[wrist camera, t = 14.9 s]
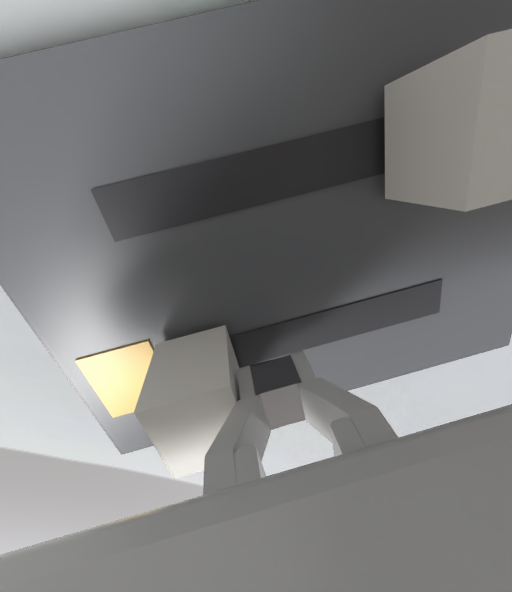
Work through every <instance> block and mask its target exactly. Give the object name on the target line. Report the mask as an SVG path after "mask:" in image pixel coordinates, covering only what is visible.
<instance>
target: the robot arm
mask: <svg viewBox="0 0 512 592" xmlns="http://www.w3.org/2000/svg"><path fill="white" fill-rule="evenodd" d="M237 375H238V384H239V392H240V400H239V401H236V403H235V405H234V407H233V408H232V410H231V412H230V414H229V415H228V417H227V419H226V420H225V422H224V424H223V426H222V427H221V429H220V431H219V432H218V434H217V436H216V438H215V439H214V441H213V443H212V445H211V446H210V448H209V450H208V451H207V453H206V455H205V460H204V488H203V495H202V496H199V497H195V498H192V499H188V500H185V501H182V502H178V503H175V504H171V505H168V506H165V507H161V508H158V509H154V510H151V511H148V512H144V513H141V514H137V515H134V516H131V517H127V518H124V519H121V520H117V521H114V522H110V523H107V524H104V525H100V526H97V527H93V528H90V529H87V530H83V531H80V532H76V533H73V534H69V535H66V536H63V537H59V538H56V539H53V540H49V541H46V542H42V543H39V544H36V545H32V546H29V547H25V548H22V549H19V550H15V551H12V552H8V553H5V554H2V555H0V592H512V404H511V405H508V406H505V407H501V408H498V409H494V410H491V411H488V412H484V413H481V414H477V415H474V416H471V417H467V418H464V419H460V420H457V421H454V422H450V423H447V424H443V425H440V426H436V427H433V428H430V429H426V430H423V431H419V432H416V433H413V434H409V435H406V436H402V437H399V438H398V436H397V435H396V433H395V432H394V431H393V429H392V428H391V426H390V425H389V423H388V422H387V420H386V419H385V418H384V416H383V415H382V413H381V412H380V410H379V409H378V408H377V407H376V406H374V405H372V404H371V403H369V402H367V401H365V400H363V399H361V398H359V397H357V396H355V395H353V394H351V393H349V392H348V391H346V390H344V389H342V388H340V387H338V386H336V385H334V384H332V383H330V382H328V381H326V380H325V379H323V378H321V377H320V378H316V376H315V374H314V372H313V370H312V368H311V366H310V364H309V362H308V360H307V358H306V356H305V354H304V352H303V351H299V352H295V353H292V354H290V355H287V356H283V357H280V358H276V359H272V360H268V361H265V362H261V363H257V364H253V365H250V366H246V367H242V368H238V369H237ZM303 420H306V422H308V423H309V424H310V425H311V426H312V427H314V428H315V429H316V430H317V431H318V432H320V433H321V434H322V435H323V436H324V437H326V438H327V439H328V440H329V441H330V442H331V443H333V449H334V456H335V457H331V458H328V459H324V460H321V461H318V462H314V463H311V464H307V465H304V466H301V467H297V468H294V469H290V470H287V471H284V472H280V473H277V474H273V475H270V476H267V477H266V474H265V471H264V468H263V466H262V463H261V461H262V457H263V454H264V451H265V448H266V445H267V442H268V439H269V436H270V433H271V430H272V429H275V428H279V427H282V426H285V425H288V424H292V423H296V422H300V421H303Z"/></svg>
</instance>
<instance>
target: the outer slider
mask: <svg viewBox="0 0 512 592" xmlns="http://www.w3.org/2000/svg"><path fill="white" fill-rule="evenodd" d="M238 368H239V365H238V362H237V359H236V356H235V353H234V350H233V347H232V344H231V340H230V337H229V334H228V331H227V328H226V325H224V326H220V327H216V328H213V329H209V330H205V331H201V332H198V333H194V334H190V335H187V336H183V337H179V338H176V339H172V340H168V341H164V342H161V343H157V344H156V346H155V349H154V352H153V355H152V358H151V362H150V365H149V368H148V371H147V374H146V377H145V380H144V383H143V386H142V389H141V392H140V395H139V398H138V401H137V404H136V407H135V410H134V414H135V416H136V417H137V419H138V420H139V422H140V424H141V425H142V427H143V429H144V430H145V432H146V433H147V435H148V437H149V438H150V440H151V442H152V443H153V445H154V447H155V448H156V450H157V451H158V453H159V455H160V456H161V458H162V460H163V461H164V463H165V465H166V466H167V468H168V469H169V471H170V473H171V474H172V476H173V478H174V479H177V478H181V477H184V476H187V475H191V474H194V473H198V472H201V471H204V460H205V455H206V453H207V451H208V450H209V448H210V446H211V445H212V443H213V441H214V439H215V438H216V436H217V434H218V432H219V431H220V429H221V427H222V426H223V424H224V422H225V420H226V419H227V417H228V415H229V414H230V412H231V410H232V408H233V407H234V405H235V403H236V401H239V400H240V392H239V384H238V375H237V369H238Z"/></svg>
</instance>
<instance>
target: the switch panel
mask: <svg viewBox="0 0 512 592" xmlns="http://www.w3.org/2000/svg"><path fill="white" fill-rule="evenodd" d="M508 29H512V0H257V1H253V2H248V3H244V4H239V5H235V6H231V7H226V8H222V9H218V10H213V11H209V12H204V13H200V14H196V15H191V16H187V17H183V18H178V19H174V20H169V21H165V22H161V23H156V24H152V25H148V26H143V27H139V28H134V29H130V30H126V31H121V32H117V33H113V34H108V35H104V36H99V37H95V38H91V39H86V40H82V41H78V42H73V43H69V44H64V45H60V46H56V47H51V48H47V49H42V50H38V51H34V52H29V53H25V54H21V55H16V56H12V57H7V58H3V59H0V285H1V287H2V288H3V289H4V291H5V292H6V294H7V295H8V296H9V298H10V299H11V301H12V302H13V303H14V305H15V306H16V308H17V309H18V310H19V312H20V313H21V315H22V316H23V317H24V319H25V320H26V322H27V323H28V324H29V326H30V327H31V329H32V330H33V331H34V333H35V334H36V336H37V337H38V338H39V340H40V341H41V343H42V344H43V345H44V347H45V348H46V350H47V351H48V352H49V354H50V355H51V357H52V358H53V359H54V361H55V362H56V364H57V365H58V366H59V368H60V369H61V371H62V372H63V373H64V375H65V376H66V378H67V379H68V380H69V382H70V383H71V385H72V386H73V387H74V389H75V390H76V392H77V393H78V394H79V396H80V397H81V399H82V400H83V401H84V403H85V404H86V406H87V407H88V408H89V410H90V411H91V413H92V414H93V415H94V417H95V418H96V420H97V421H98V422H99V424H100V425H101V427H102V428H103V429H104V431H105V432H106V434H107V435H108V436H109V438H110V439H111V441H112V442H113V443H114V445H115V446H116V448H117V449H118V450H119V452H120V453H121V455H122V454H126V453H129V452H133V451H136V450H140V449H143V448H147V447H150V446H154V445H153V443H152V442H151V440H150V438H149V437H148V435H147V433H146V432H145V430H144V429H143V427H142V425H141V424H140V422H139V420H138V419H137V417H136V416H135V414H134V410H135V407H136V404H137V401H138V398H139V395H140V392H141V389H142V386H143V383H144V380H145V377H146V374H147V371H148V368H149V365H150V362H151V358H152V355H153V352H154V349H155V346H156V344H157V343H161V342H164V341H168V340H172V339H176V338H179V337H183V336H187V335H190V334H194V333H198V332H201V331H205V330H209V329H213V328H216V327H220V326H224V325H226V328H227V331H228V334H229V337H230V340H231V344H232V347H233V350H234V353H235V356H236V359H237V362H238V365H239V368H242V367H246V366H250V365H253V364H257V363H261V362H265V361H268V360H272V359H276V358H280V357H283V356H287V355H290V354H292V353H295V352H299V351H303V352H304V354H305V356H306V358H307V360H308V362H309V364H310V366H311V368H312V370H313V372H314V374H315V376H316V378H320V377H321V378H323V379H325V380H326V381H328V382H330V383H332V384H334V385H336V386H338V387H340V388H342V389H344V390H346V391H348V390H352V389H355V388H359V387H363V386H366V385H370V384H373V383H377V382H380V381H384V380H387V379H391V378H394V377H398V376H401V375H405V374H409V373H412V372H416V371H419V370H423V369H426V368H430V367H433V366H437V365H440V364H444V363H447V362H451V361H455V360H458V359H462V358H465V357H469V356H472V355H476V354H479V353H483V352H486V351H490V350H493V349H497V348H501V347H504V346H508V345H509V342H510V338H511V334H512V200H508V201H505V202H501V203H497V204H493V205H489V206H486V207H482V208H478V209H474V210H470V211H467V212H464V211H458V210H452V209H445V208H439V207H433V206H427V205H421V204H415V203H409V202H402V201H396V200H390V199H385V109H384V86H385V85H387V84H389V83H391V82H393V81H395V80H397V79H399V78H401V77H403V76H405V75H407V74H409V73H411V72H413V71H415V70H417V69H419V68H421V67H423V66H425V65H427V64H429V63H431V62H433V61H435V60H437V59H439V58H441V57H443V56H445V55H447V54H449V53H451V52H453V51H455V50H457V49H459V48H461V47H463V46H465V45H467V44H469V43H471V42H473V41H475V40H477V39H479V38H481V37H483V36H485V35H487V34H492V33H496V32H500V31H504V30H508Z"/></svg>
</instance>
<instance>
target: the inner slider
mask: <svg viewBox="0 0 512 592" xmlns="http://www.w3.org/2000/svg"><path fill="white" fill-rule="evenodd" d="M384 109H385V199H390V200H396V201H402V202H409V203H415V204H421V205H427V206H433V207H439V208H445V209H452V210H458V211H464V212H467V211H470V210H474V209H478V208H482V207H486V206H489V205H493V204H497V203H501V202H505V201H508V200H512V29H508V30H504V31H500V32H496V33H492V34H487V35H485V36H483V37H481V38H479V39H477V40H475V41H473V42H471V43H469V44H467V45H465V46H463V47H461V48H459V49H457V50H455V51H453V52H451V53H449V54H447V55H445V56H443V57H441V58H439V59H437V60H435V61H433V62H431V63H429V64H427V65H425V66H423V67H421V68H419V69H417V70H415V71H413V72H411V73H409V74H407V75H405V76H403V77H401V78H399V79H397V80H395V81H393V82H391V83H389V84H387V85H385V86H384Z"/></svg>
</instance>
